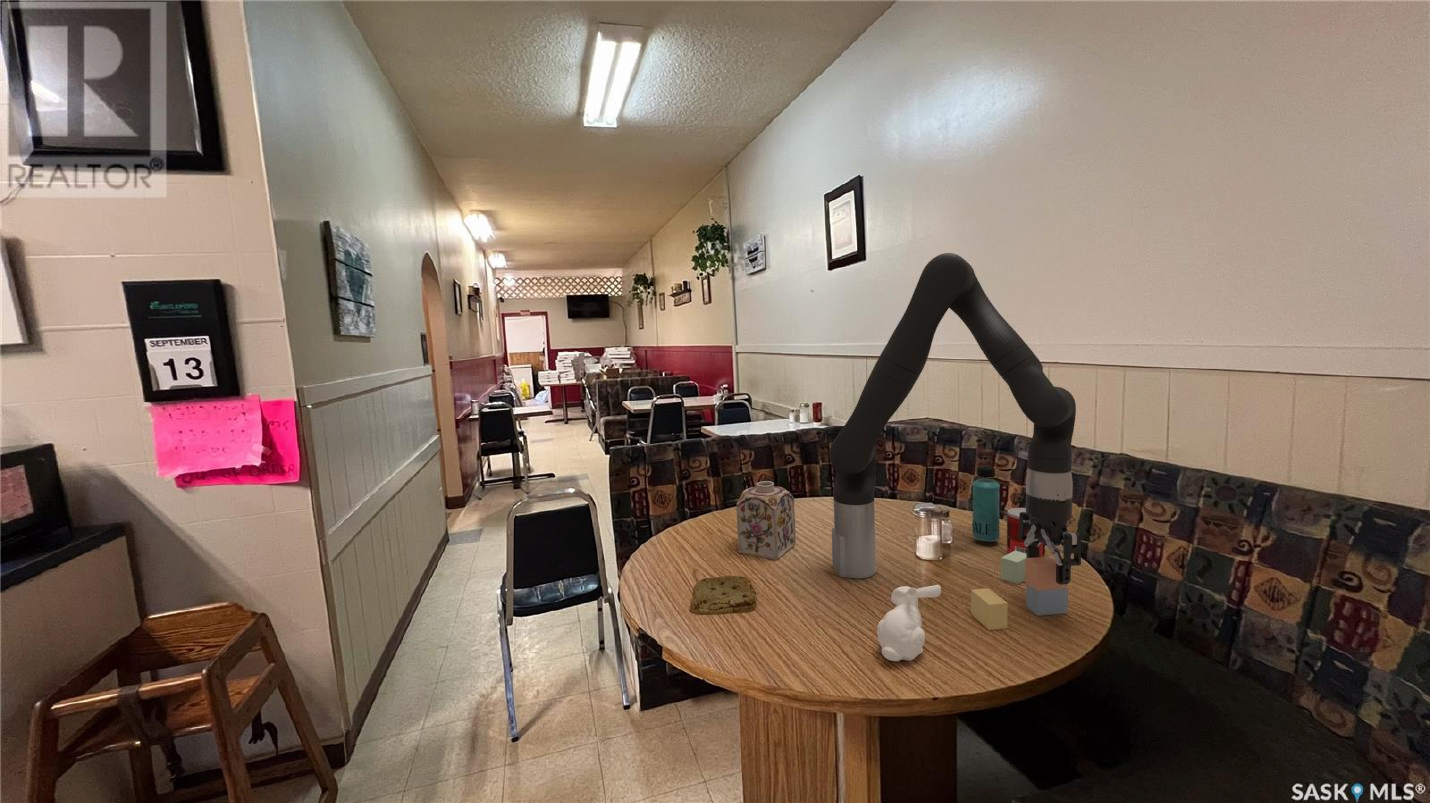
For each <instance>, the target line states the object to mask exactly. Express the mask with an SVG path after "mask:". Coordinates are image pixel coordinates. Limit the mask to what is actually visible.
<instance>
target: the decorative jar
mask: <svg viewBox="0 0 1430 803" xmlns="http://www.w3.org/2000/svg"><path fill="white" fill-rule="evenodd" d="M735 507H736V528H737V530H736V531H737V546H738V547H737V548H738V553H739V554H742V555H747V556H752V557H758V558H763V559H767V560H773V561H777V560H779V559H780V558H781V557H783V555H785V554H786V553H787V552H789V551H790V550H791V549H793V548H794V547H795V546H796V545H797V544H796V540H797V539H796V538H797V535H796V513H795V497H794V496H793V495H792V494H791V493H790V491H789V490H786V488H784V487H782V486H775V483H774V482H773V481H769V480H764V481H759V482H756V483H755V486H752V487H749V488H746V489H743V491H742V493H741V494H740V497H739V498H738V500H737V502H736V505H735Z"/></svg>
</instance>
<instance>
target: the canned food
mask: <svg viewBox="0 0 1430 803" xmlns="http://www.w3.org/2000/svg"><path fill="white" fill-rule="evenodd" d="M1020 512H1026V507H1013V508H1010V509H1008V510H1007V513H1006V515H1007V516H1006V552H1007V553H1006V554H1009V553H1011V552H1013V551H1019V552H1022V553H1026V549H1027V547H1026V546H1025V544H1024V541H1023V540H1020V539H1019V514H1020ZM1025 534H1028V529H1026V530H1025ZM1037 547H1039V548H1040V555H1039V557H1046V545H1045V544H1044V543H1042V542H1041V544H1040V545H1039V546H1037ZM1026 554H1027V553H1026Z"/></svg>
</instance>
